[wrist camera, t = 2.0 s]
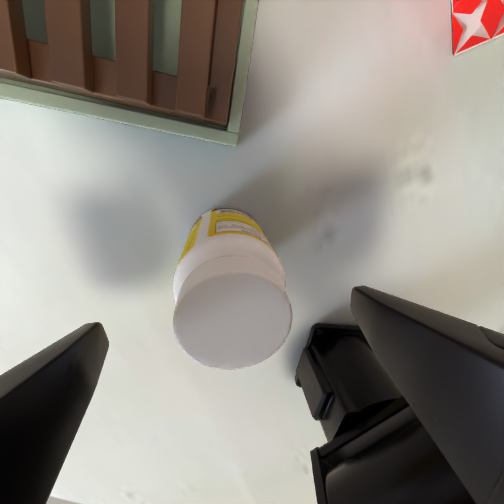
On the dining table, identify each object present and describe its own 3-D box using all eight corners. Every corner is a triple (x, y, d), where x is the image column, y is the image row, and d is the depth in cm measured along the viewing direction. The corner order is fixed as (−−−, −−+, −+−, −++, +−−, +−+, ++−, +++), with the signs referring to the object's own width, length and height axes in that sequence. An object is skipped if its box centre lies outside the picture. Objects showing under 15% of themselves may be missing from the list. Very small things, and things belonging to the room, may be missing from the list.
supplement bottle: (212, 284, 17) (205, 397, 9) (174, 227, 15) (124, 305, 7) (273, 254, 16) (323, 342, 8) (242, 191, 14) (270, 232, 7)
